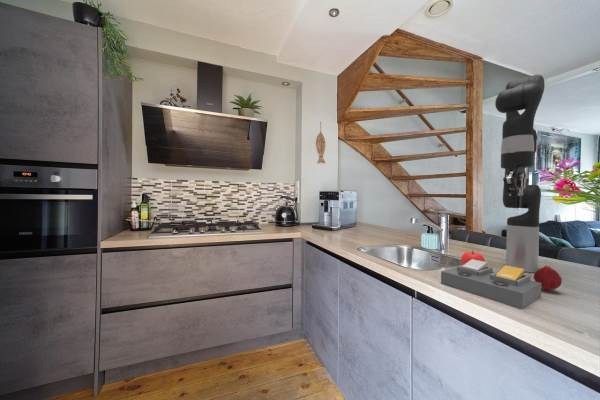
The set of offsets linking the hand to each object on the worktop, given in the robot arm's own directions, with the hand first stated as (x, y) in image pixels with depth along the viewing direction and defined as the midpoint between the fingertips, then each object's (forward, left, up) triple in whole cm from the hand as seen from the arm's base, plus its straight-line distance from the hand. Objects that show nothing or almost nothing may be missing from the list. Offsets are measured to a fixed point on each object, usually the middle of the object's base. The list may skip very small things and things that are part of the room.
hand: (515, 208), depth 72 cm
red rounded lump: (-6, +6, -25) cm, 27 cm away
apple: (-7, -14, -25) cm, 30 cm away
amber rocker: (+6, +1, -19) cm, 20 cm away
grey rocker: (+6, -8, -19) cm, 22 cm away
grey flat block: (+9, -4, -25) cm, 27 cm away
